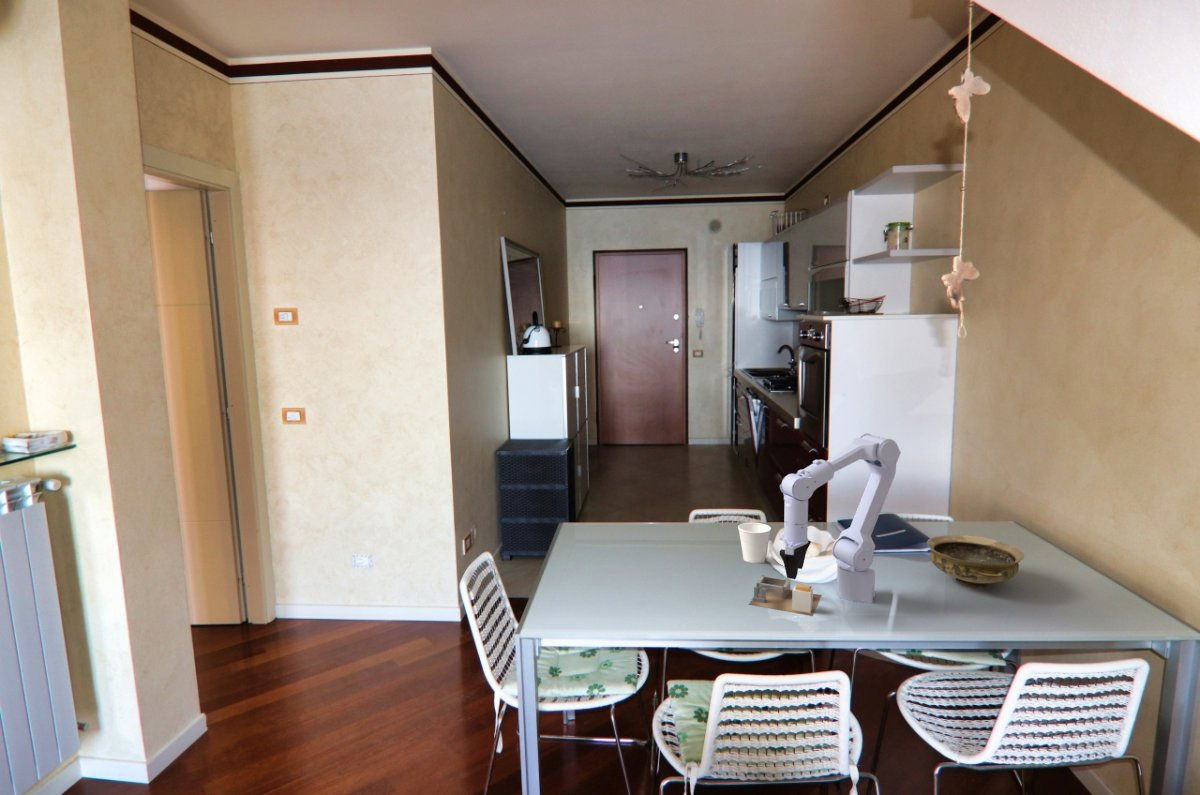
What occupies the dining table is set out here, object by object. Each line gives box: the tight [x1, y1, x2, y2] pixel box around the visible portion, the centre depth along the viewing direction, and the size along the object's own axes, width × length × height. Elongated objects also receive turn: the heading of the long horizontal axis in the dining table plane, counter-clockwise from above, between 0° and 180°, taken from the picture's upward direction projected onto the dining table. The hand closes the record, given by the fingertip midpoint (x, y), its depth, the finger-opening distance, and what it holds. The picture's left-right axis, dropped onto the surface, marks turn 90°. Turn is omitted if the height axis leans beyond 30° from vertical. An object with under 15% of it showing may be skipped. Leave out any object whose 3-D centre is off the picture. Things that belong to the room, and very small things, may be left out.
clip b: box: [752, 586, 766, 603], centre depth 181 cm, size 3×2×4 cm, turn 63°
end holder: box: [755, 575, 792, 599], centre depth 187 cm, size 8×6×3 cm
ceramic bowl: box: [926, 534, 1025, 588], centre depth 193 cm, size 30×24×10 cm
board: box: [748, 589, 823, 617], centre depth 182 cm, size 16×14×1 cm
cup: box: [737, 522, 772, 564], centre depth 211 cm, size 10×10×11 cm
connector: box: [791, 583, 814, 613], centre depth 176 cm, size 4×3×6 cm, turn 63°
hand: (794, 573), depth 178 cm, fingers open, 7 cm apart
